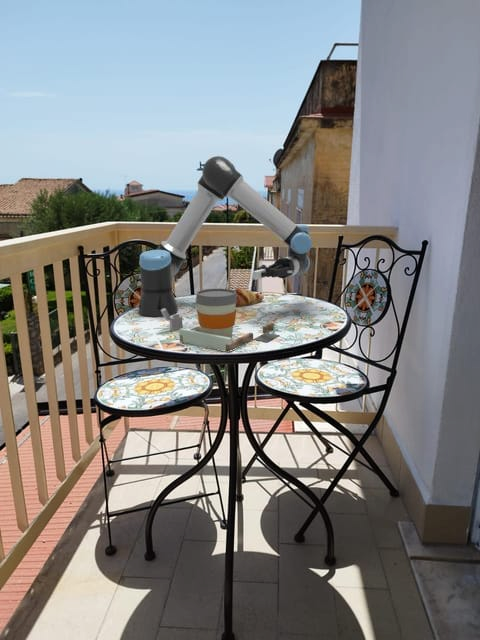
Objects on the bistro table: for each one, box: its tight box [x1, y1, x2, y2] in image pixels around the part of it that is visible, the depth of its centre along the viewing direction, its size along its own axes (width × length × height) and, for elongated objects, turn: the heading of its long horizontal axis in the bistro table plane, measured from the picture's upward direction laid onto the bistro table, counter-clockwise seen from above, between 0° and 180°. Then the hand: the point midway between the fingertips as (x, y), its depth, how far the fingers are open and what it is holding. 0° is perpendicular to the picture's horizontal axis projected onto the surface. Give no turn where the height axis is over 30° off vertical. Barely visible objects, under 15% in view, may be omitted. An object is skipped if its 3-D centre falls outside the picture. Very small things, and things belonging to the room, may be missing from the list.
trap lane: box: [179, 322, 280, 351], centre depth 137 cm, size 27×28×2 cm
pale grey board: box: [178, 328, 233, 352], centre depth 126 cm, size 1×18×4 cm, turn 57°
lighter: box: [161, 308, 184, 332], centre depth 141 cm, size 7×2×8 cm, turn 126°
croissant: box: [234, 288, 265, 307], centre depth 178 cm, size 21×10×8 cm, turn 121°
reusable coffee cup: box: [195, 288, 237, 338], centre depth 131 cm, size 13×13×15 cm
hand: (254, 275), depth 144 cm, fingers closed
